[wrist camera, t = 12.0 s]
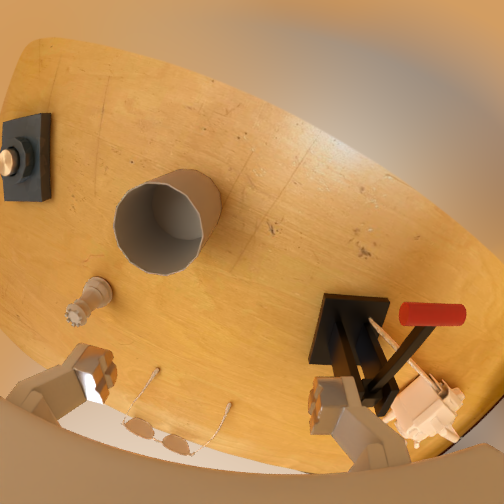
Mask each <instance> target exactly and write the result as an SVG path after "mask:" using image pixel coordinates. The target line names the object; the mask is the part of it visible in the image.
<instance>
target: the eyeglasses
mask: <svg viewBox="0 0 504 504" xmlns="http://www.w3.org/2000/svg"><path fill="white" fill-rule="evenodd" d="M158 372H159V369H158V368H156V369H155V371H154V372H153V373H152V375H151V378H150V379H149V381H148V382H147V384H146V385H145V387H144V388H143V390H142V391H141V393H140V394H139V395H138V397H137V398H136V399H135V400H134V401H133V403H134V402H135V401H136V400H137V399H138V398H139V397H140V395H141V394H142V393H143V392H144V390H145V389H146V387H147V386H148V385H149V383H150V382H151V380H152V379H153V378H154V377H155V376H156V374H157V373H158ZM133 403H132V405H133ZM132 405H131V406H132ZM230 407H231V403H228V405H227V407H226V411H225V414H224V417H223V419H222V422H221V424H220V426H219V428H218V430H217V431H216V433H215V435H216V434H217V432H218V431H219V429H220V427H221V426H222V424H223V422H224V420H225V417H226V415H227V413H228V412H229V410H230ZM130 408H131V407H130ZM130 408H129V410H130ZM129 410H128V411H129ZM127 413H128V412H127ZM126 415H127V414H126ZM124 421H125V420H123V422H122V425H124V426H125V427H126V429H127V430H129V431H130V432H132V433H133V434H135V435H137V436H140V437H142V438H145V439H152V438H153V436H154V431H153V429H152V426H151V425H150V424H149V423H147V422H146V421H144V420H142V419H139V418H133V419H131V420H129V421H128V422H127V423H126V424H125V423H124ZM215 435H214V436H213V437H212V439H213V438H214V437H215ZM153 439H154V440H155V441H156V442H160V443H162V444H163V446H164V447H166V448H167V449H169V450H171V451H173V452H175V453H178V454H180V455H185V456H186V455H190V456H193V455H194V454H195V453H196V452H197V451H196V452H193V453H192V454H191V453H190V450H189V446H188V443H187V442H186V440H184V439H183V438H181V437H178V436H176V435H172V434H171V435H168V436H166V437H165V438H164V439H163V441H158V440H156V439H155V438H153ZM212 439H211V440H212ZM211 440H210V441H211ZM208 442H209V441H208ZM208 442H207V443H208ZM207 443H206V444H207ZM206 444H205V445H206ZM205 445H204V446H205ZM204 446H203V447H204ZM201 448H202V447H201ZM201 448H200V449H201Z"/></svg>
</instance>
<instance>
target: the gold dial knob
mask: <svg viewBox="0 0 504 504" xmlns="http://www.w3.org/2000/svg"><path fill="white" fill-rule="evenodd" d="M19 167H20V155H19V152H18V150H17V149H15V148H11V149H5V150H3V151H2V152H1V153H0V173H1V175H3V176H9V175H12V174H15V173H16V172H17V171H18V170H19Z"/></svg>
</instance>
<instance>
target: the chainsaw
mask: <svg viewBox="0 0 504 504" xmlns="http://www.w3.org/2000/svg"><path fill="white" fill-rule="evenodd" d="M368 319H369V321H370V323H371V324H372V326H374V328H375V329H376V330H377V332H378V333H380V335H381V336H382V337H383V338H384V339H385V340H386V341H387V342H388V343H389V344H390V345H391V346H392V347H393V348H394V350H395V351H397V349H398V348H399V347H400V346H399V345H398V344H397V343H396V342H395V341H394V340H393V339H392V338H391V337H390V336H389V335H388V334H387V333H386V332H385V331H384V330H383V328H381V327H380V326H379V325H378V324H377V323H376V322H374V321H373V319H371V317H370V318H368ZM407 363H408V364H410V365H411V366H412V367H413V368H414V369H415V370H416V371H417V372H418V374H420V376H419V377H418V378H416V379H415V380H414V381H413V382H412V383H411V384H410V385H409V386H408V387H406V388H405V389H404V390H403V391H402V392H401V393H399V394H398V395H397V396H396V398H395V399H394V401H393V403H392V405H391V409H392V410H391V411H390V412H389V413H387V414H386V416H385V417H384V418H383V419H382V421H383V422H384V423H386V424H387V423H388V422H389V421H392V420H393V419H395V418H396V419H397V420H396V421H395V426H396V428H397V430H398V431H399V433H400V434H401V435H402V436H403V437H404V438H406V439H408V438H410V439H412V440H414V447H415V448H419V446H420V445H419V442H421V440H423V439H425V438H426V437H428V436H431V437H433V436H434V435H435V434H437V433H438V434H440V435H441V436H442V437H444V438H446V439H448V440H450V441H452V442H454V443H456V442H457V441H458V440H459V436H458V434H457V433H456V431H455V430H454V429H453V427H452V426H451V425H452V424H453V422H454V420H455V417H456V416H457V413H456V411H457V410H458V409H459V408H460V407H461V406H462V405H463V403H462V402H461V401H462V400H463V399H464V398H465V396H464V394H463V393H462V391H461V390H460V389H459V388H458V387H456V388H453V389H451V388H450V387H449V386H448V384H447V383H446V382H445V381H444V380H443V379H442V381H443V383H444V384H445V385H444V386H443V387H442V385H443V384H442V383H441V382H440V383H439V382H438V381H437V380H436V379H435V378H434V377H433V376H432V375H431V373H430V374H429V375H430V376H431V378H432V379H433V380H434V381H435V383H434V382H433V381H432V380H431V379H430V378H429V377H428V376H427V375H426V373H425V372H424V371H423V370H422V369H421V368H420V367H419V366H418V365H417V363H415V362H414V361H413V360H412V359H411V357H410V359H409V360H408V361H407ZM405 443H406V445H407V441H406V440H405Z"/></svg>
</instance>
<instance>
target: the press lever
mask: <svg viewBox="0 0 504 504" xmlns="http://www.w3.org/2000/svg"><path fill="white" fill-rule="evenodd" d="M465 319H466V309H465V307H464V305H462V304H442V303H419V302H404V303H403V304H402V305H401V307H400V310H399V321H400V324H401V325H403V326H415V327H414V328H413V330H412V331H411V333H410V334H409V335H408V337H407V338H406V339H405V340H404V342H403V343H402V344H401V346H400V347H399V348H398V349H397V351H396V352H395V353H394V354H393V356H392V357H391V358H390V359H389V360H388V362H387V363H386V364H385V365H384V366H383V368H382V369H381V370H380V371H379V372H378V373H377V375H376V376H375V377H374V378H373V379H362V380H361V381H362V384H363V388H364V391H365V393H364V395H363V397H362V399H361V405H362V406H366V407H373V406H375V405H376V404H377V403H378V402H379V401H380V400H381V399H382V398H383V394H382V387H383V386H384V385H385V384H386V383H387V382H388V381H389V380H390V379H391V378H392V377H393V376H394V375H395V374H396V373H397V372H398V371H399V370H400V369H401V367H402V366H403V365H404V364H405V363H406V362H407V361H408V360H409V359H410V357H411V356H412V355H413V354H414V353H415V352H416V351H417V349H418V348H419V347H420V346H421V345H422V343H423V342H424V341H425V340H426V339H427V337H428V336H429V335H430V334H431V332H432V331H433V330H434V329H435V327H436V326H461V325H462V324H463V323H464V322H465Z"/></svg>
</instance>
